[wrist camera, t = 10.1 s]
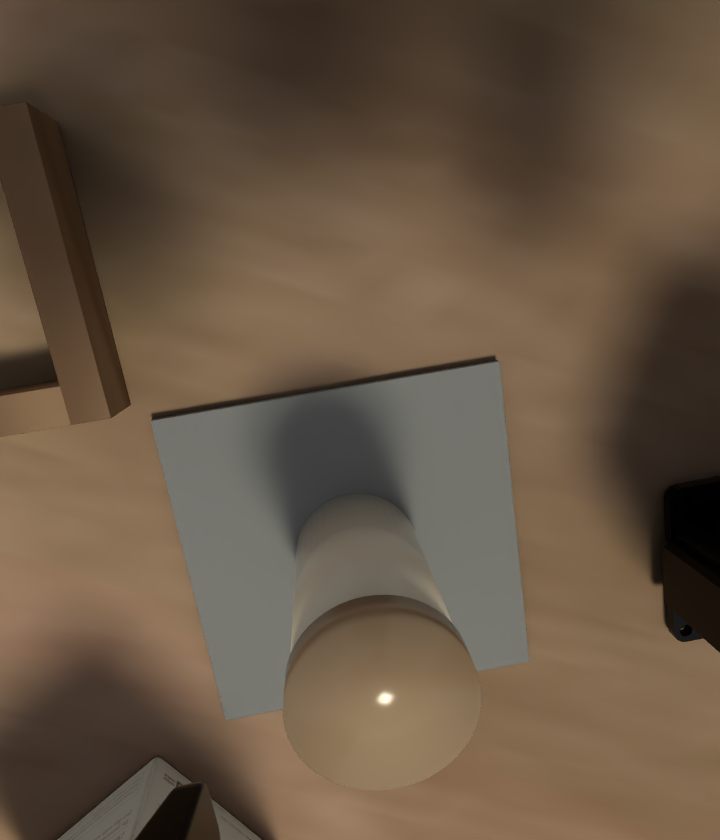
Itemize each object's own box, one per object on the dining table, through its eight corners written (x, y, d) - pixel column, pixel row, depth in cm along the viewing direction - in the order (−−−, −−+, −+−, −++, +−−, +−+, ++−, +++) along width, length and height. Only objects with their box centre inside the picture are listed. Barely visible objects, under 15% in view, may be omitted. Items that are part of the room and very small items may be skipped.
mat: (496, 360, 20) (499, 361, 20) (526, 656, 23) (529, 661, 23) (152, 419, 20) (150, 420, 19) (226, 714, 22) (225, 720, 22)
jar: (410, 480, 21) (470, 600, 13) (427, 594, 22) (491, 769, 14) (282, 503, 20) (264, 640, 13) (306, 617, 21) (303, 807, 14)
